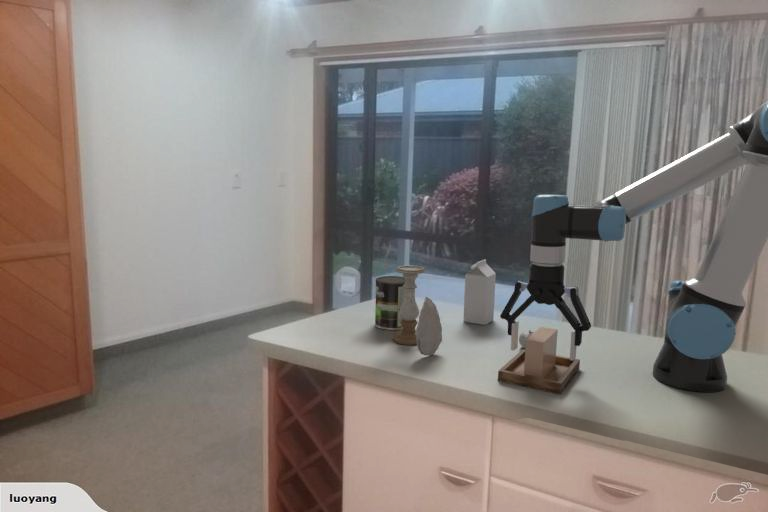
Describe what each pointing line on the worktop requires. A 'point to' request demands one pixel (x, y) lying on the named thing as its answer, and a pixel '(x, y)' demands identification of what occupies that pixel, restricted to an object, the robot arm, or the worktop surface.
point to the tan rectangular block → (540, 352)
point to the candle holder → (408, 306)
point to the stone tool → (428, 329)
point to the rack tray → (551, 383)
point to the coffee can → (389, 302)
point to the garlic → (524, 337)
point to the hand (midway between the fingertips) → (542, 353)
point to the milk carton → (479, 294)
